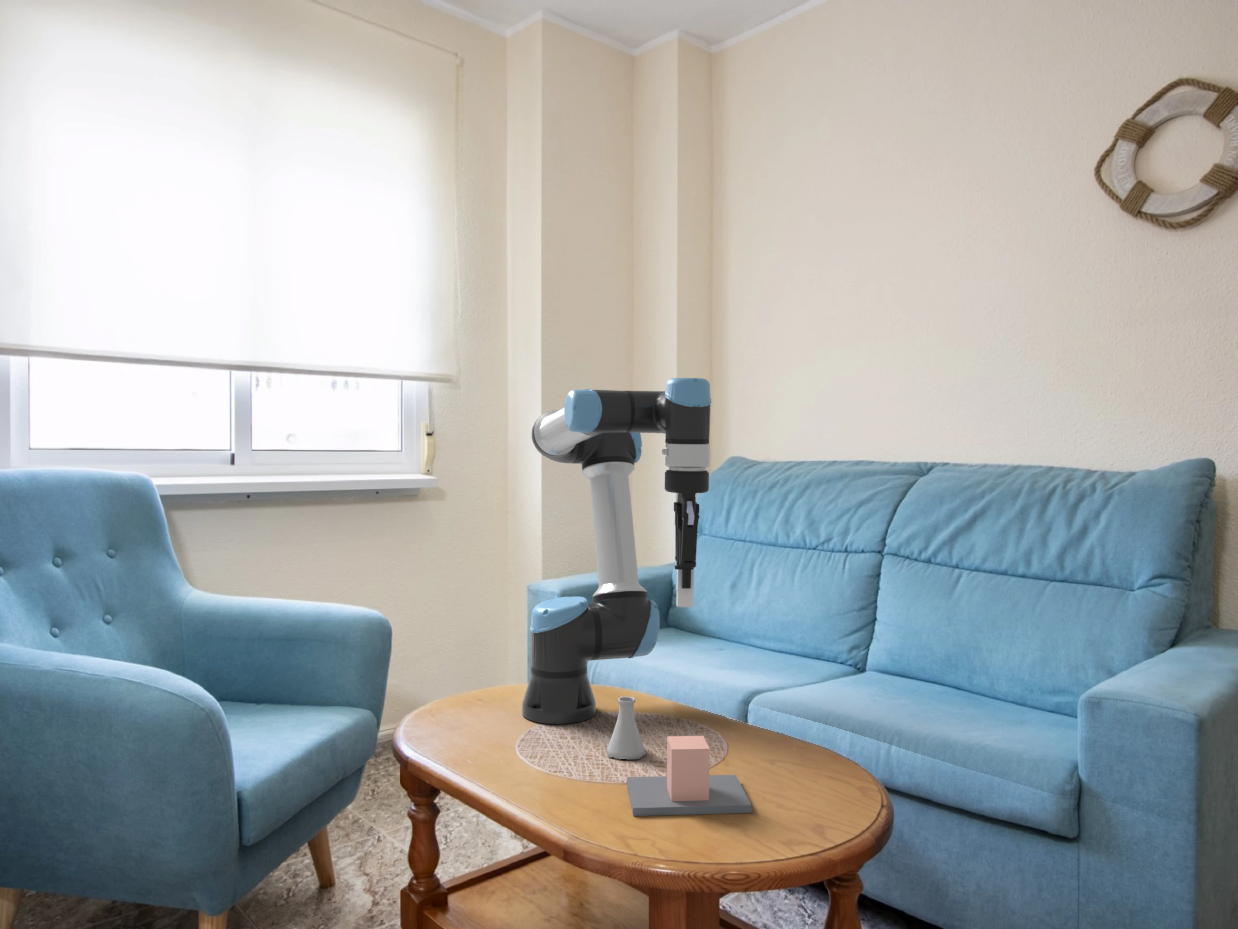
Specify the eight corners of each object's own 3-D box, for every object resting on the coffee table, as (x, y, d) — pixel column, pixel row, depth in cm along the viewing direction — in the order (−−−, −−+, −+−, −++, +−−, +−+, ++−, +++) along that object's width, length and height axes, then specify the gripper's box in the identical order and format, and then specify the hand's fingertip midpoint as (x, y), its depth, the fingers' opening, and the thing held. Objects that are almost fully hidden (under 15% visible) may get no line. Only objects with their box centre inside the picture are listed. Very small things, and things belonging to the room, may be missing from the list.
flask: (642, 763, 153) (642, 706, 152) (602, 759, 154) (602, 703, 154) (649, 748, 160) (649, 694, 159) (610, 745, 161) (611, 691, 161)
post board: (626, 784, 143) (627, 747, 143) (735, 782, 144) (735, 744, 144) (633, 816, 131) (633, 775, 131) (751, 813, 132) (751, 772, 132)
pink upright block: (666, 786, 139) (667, 736, 139) (702, 785, 140) (703, 735, 139) (671, 801, 133) (671, 749, 133) (709, 800, 134) (709, 748, 134)
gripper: (661, 466, 155) (659, 598, 156) (669, 471, 142) (667, 614, 143) (703, 467, 155) (700, 598, 157) (715, 471, 142) (712, 614, 144)
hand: (684, 606), depth 150 cm, fingers closed
